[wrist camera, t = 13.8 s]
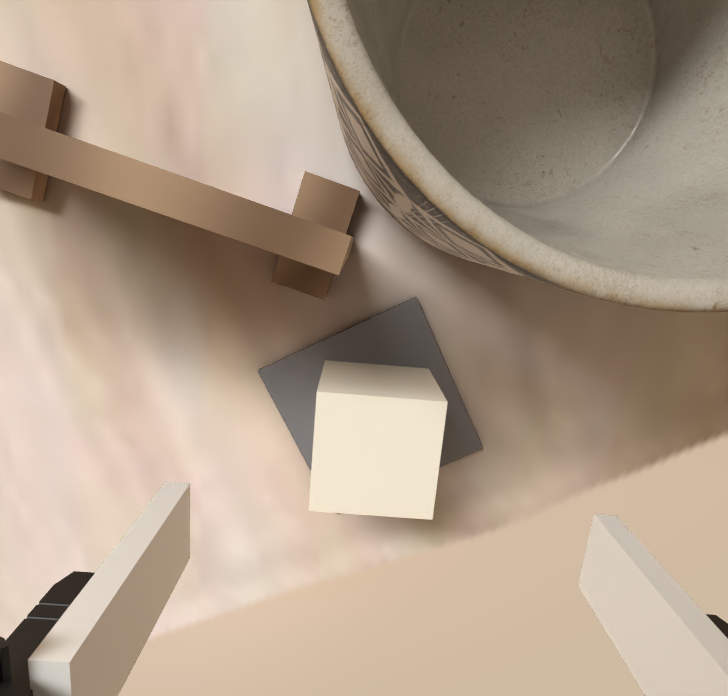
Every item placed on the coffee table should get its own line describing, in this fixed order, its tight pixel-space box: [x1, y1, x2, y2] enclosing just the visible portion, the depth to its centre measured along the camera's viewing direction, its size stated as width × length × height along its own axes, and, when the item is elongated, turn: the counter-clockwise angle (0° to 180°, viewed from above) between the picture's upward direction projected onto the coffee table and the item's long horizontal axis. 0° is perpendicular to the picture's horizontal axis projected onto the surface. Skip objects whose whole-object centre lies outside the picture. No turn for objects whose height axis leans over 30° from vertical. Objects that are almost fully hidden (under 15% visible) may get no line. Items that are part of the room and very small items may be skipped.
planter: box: [307, 0, 728, 312], centre depth 17 cm, size 19×19×16 cm
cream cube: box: [308, 360, 448, 520], centre depth 26 cm, size 6×6×6 cm
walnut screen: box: [0, 61, 360, 299], centre depth 20 cm, size 20×6×13 cm, turn 71°
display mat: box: [258, 297, 483, 471], centre depth 29 cm, size 10×10×1 cm
